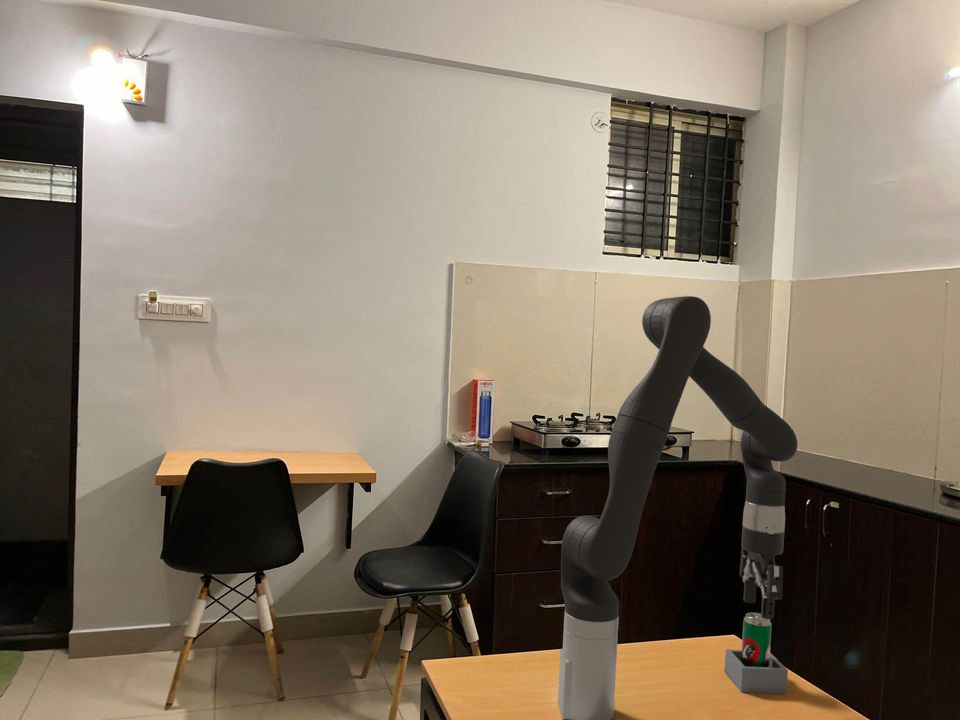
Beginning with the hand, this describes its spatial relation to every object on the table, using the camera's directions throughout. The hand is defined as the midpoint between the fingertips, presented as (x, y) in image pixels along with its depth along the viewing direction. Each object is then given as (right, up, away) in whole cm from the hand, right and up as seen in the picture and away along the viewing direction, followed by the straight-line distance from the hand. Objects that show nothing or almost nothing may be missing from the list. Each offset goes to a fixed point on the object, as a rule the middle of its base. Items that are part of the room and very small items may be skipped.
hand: (758, 610), depth 140 cm
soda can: (-1, -13, 0) cm, 13 cm away
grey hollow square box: (-1, -14, 0) cm, 14 cm away
